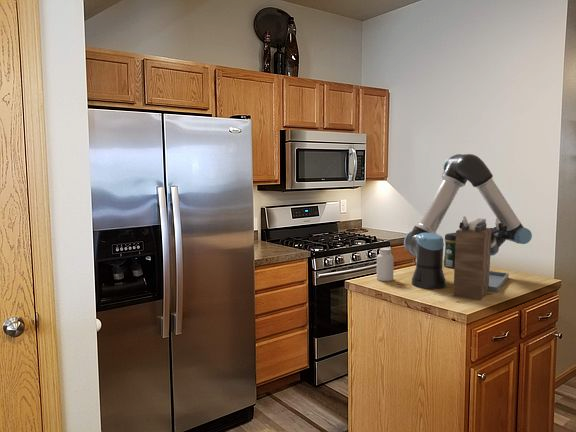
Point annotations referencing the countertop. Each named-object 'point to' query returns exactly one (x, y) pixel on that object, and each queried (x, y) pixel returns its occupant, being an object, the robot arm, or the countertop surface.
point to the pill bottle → (385, 265)
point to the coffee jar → (450, 250)
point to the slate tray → (496, 280)
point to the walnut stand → (472, 262)
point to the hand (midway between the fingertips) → (480, 220)
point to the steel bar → (476, 224)
